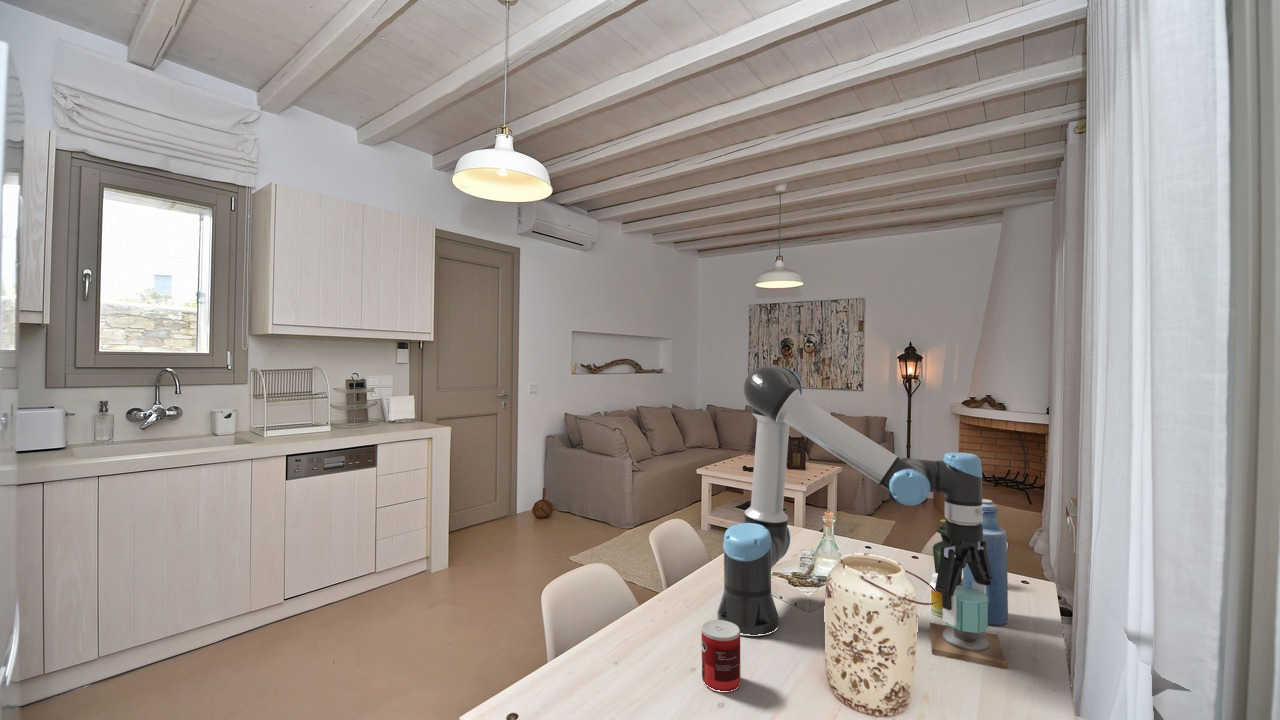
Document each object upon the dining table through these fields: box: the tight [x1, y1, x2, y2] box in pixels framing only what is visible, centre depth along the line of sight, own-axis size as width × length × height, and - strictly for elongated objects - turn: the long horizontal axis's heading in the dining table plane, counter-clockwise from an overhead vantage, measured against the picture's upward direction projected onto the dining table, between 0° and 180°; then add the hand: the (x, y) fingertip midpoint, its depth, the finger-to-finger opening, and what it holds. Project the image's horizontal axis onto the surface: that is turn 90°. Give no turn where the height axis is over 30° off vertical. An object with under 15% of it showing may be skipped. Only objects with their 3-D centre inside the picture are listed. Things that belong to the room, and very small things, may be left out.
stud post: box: [929, 622, 1008, 670], centre depth 125 cm, size 14×14×12 cm
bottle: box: [962, 498, 1009, 627], centre depth 139 cm, size 10×10×30 cm
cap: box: [941, 585, 989, 633], centre depth 125 cm, size 9×9×7 cm
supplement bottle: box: [929, 572, 943, 618], centre depth 142 cm, size 5×5×10 cm
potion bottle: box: [932, 518, 963, 586], centre depth 163 cm, size 8×8×18 cm
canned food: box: [701, 619, 741, 691], centre depth 111 cm, size 8×8×11 cm
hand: (964, 617), depth 125 cm, fingers open, 11 cm apart
